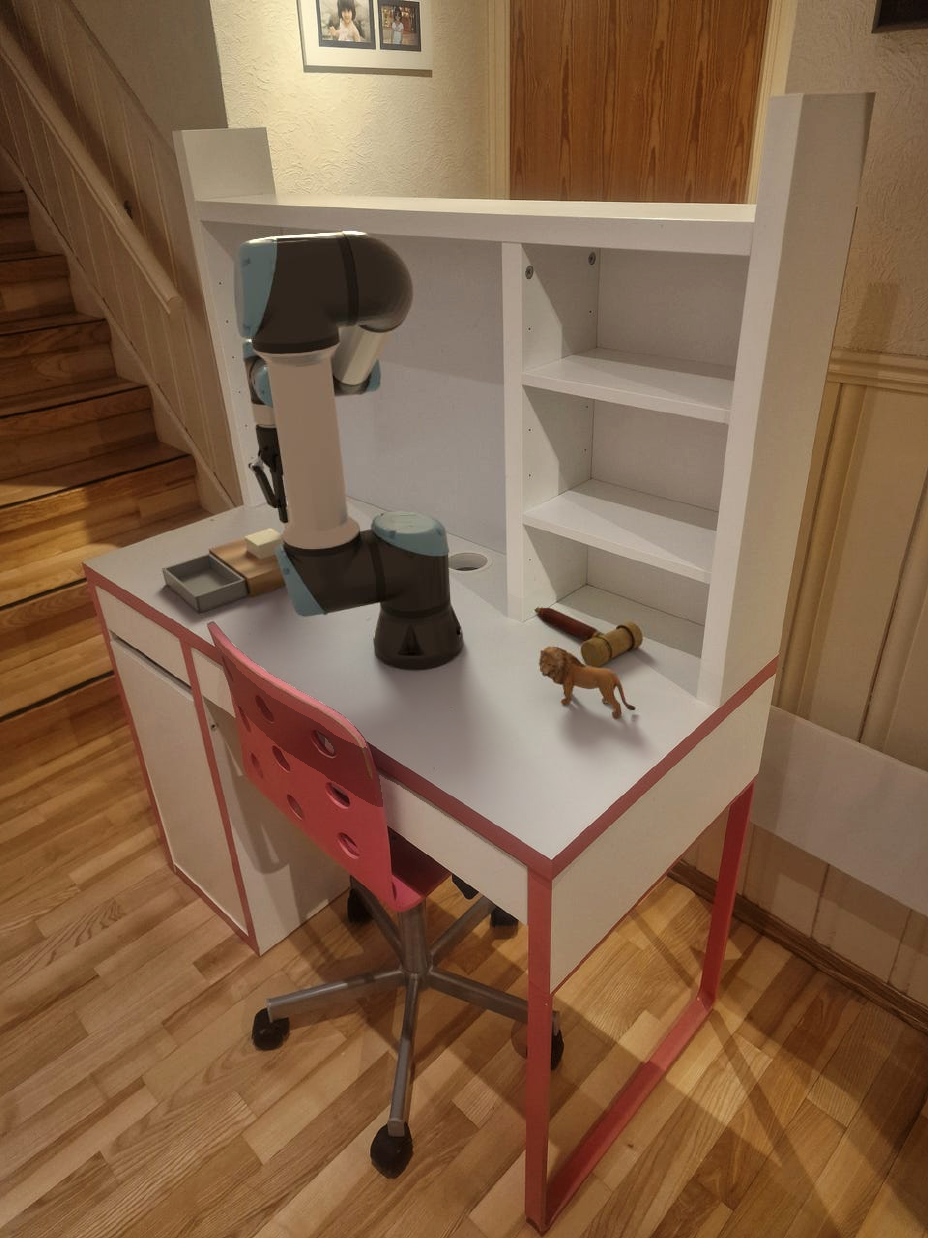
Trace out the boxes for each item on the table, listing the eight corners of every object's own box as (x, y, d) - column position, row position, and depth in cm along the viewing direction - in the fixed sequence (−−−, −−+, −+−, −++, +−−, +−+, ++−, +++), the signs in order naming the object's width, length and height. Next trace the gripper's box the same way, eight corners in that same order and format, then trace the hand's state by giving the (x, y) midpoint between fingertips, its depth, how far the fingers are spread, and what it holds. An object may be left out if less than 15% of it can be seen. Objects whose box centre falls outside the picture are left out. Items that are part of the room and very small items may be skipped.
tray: (248, 595, 162) (245, 579, 160) (199, 613, 157) (195, 596, 155) (212, 568, 173) (209, 553, 171) (165, 584, 168) (162, 568, 166)
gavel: (513, 606, 148) (555, 588, 153) (515, 629, 150) (556, 611, 155) (600, 647, 133) (643, 626, 138) (600, 672, 135) (643, 650, 140)
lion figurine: (534, 705, 128) (534, 655, 123) (543, 686, 132) (543, 637, 127) (632, 722, 123) (636, 670, 119) (638, 701, 127) (642, 651, 123)
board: (311, 575, 168) (309, 557, 166) (252, 597, 161) (248, 578, 159) (269, 547, 181) (266, 530, 179) (212, 566, 174) (208, 549, 172)
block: (287, 550, 170) (285, 536, 168) (260, 559, 166) (257, 545, 165) (273, 541, 174) (271, 528, 172) (246, 550, 171) (244, 536, 169)
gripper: (295, 410, 167) (311, 521, 179) (234, 425, 160) (254, 539, 172) (314, 418, 162) (329, 531, 173) (252, 433, 155) (272, 550, 167)
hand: (292, 535), depth 173 cm, fingers closed
